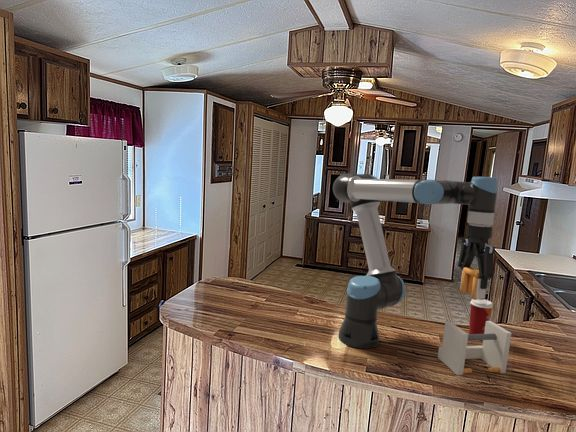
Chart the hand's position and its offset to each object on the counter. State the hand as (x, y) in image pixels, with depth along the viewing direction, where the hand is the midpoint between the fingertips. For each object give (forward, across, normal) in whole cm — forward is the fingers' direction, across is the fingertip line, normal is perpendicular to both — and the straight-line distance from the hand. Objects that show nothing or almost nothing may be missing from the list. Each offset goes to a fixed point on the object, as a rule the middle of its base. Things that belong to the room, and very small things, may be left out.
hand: (472, 293), depth 130 cm
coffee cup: (+26, +24, -21) cm, 41 cm away
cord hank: (+1, 0, 0) cm, 1 cm away
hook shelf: (+26, +2, -4) cm, 26 cm away
